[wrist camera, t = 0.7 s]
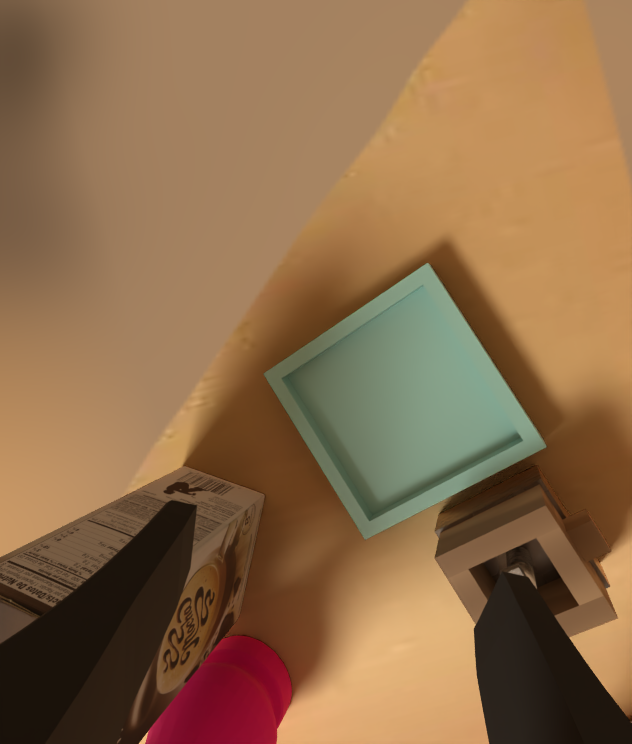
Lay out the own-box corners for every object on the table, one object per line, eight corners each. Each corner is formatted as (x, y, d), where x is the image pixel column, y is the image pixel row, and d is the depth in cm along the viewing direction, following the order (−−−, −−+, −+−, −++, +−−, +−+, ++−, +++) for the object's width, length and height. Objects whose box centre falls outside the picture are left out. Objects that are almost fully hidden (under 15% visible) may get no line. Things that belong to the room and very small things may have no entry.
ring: (628, 574, 26) (645, 607, 23) (498, 627, 28) (500, 663, 25) (562, 472, 26) (571, 493, 23) (440, 532, 28) (434, 558, 26)
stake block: (600, 563, 29) (628, 628, 23) (496, 607, 30) (499, 677, 25) (537, 464, 29) (548, 504, 23) (438, 513, 31) (427, 561, 25)
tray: (544, 439, 29) (546, 447, 27) (370, 529, 32) (364, 540, 31) (430, 264, 29) (427, 262, 28) (273, 370, 33) (263, 373, 31)
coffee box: (242, 621, 36) (56, 857, 20) (158, 585, 37) (-72, 779, 22) (269, 492, 34) (89, 643, 19) (180, 461, 36) (-52, 577, 20)
